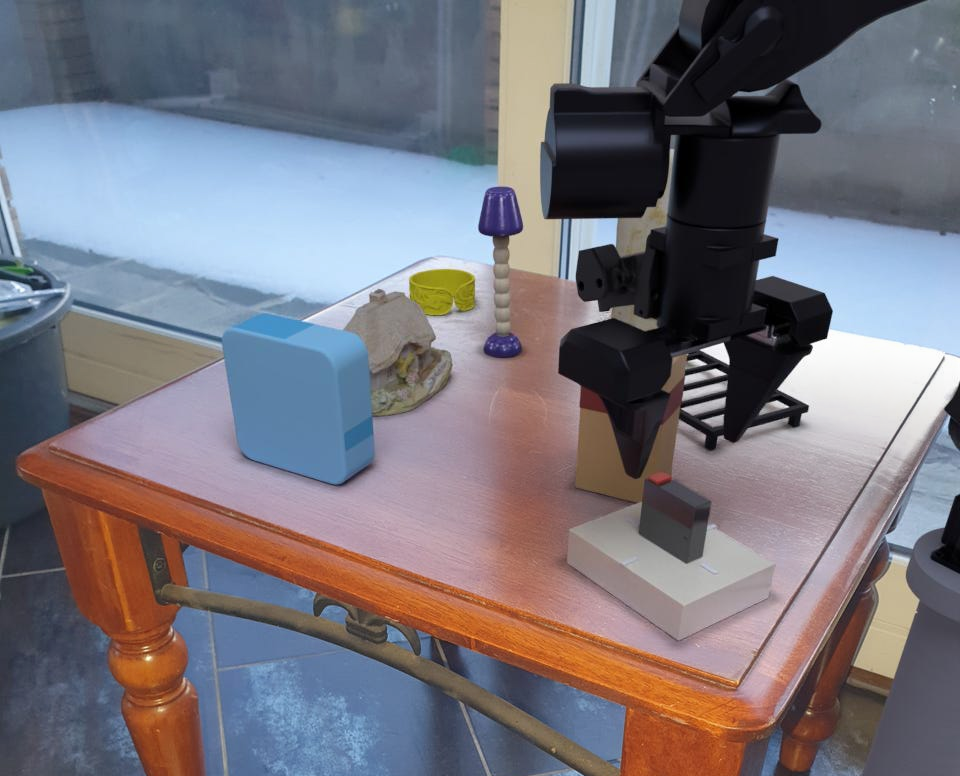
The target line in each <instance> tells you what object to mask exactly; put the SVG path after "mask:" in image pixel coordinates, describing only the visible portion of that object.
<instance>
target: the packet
mask: <svg viewBox="0 0 960 776" xmlns="http://www.w3.org/2000/svg"><path fill="white" fill-rule="evenodd" d="M687 355H688V354H684V355H681V356H678V357H674V358H672V359H673V361H672V369H671V377H670V378H669V379H668V381H667V382H666V384H665V385H664V386H663V388H662V390H664V391H666V392H668V393H670V394H671V395H670V399H669V402H668V404H667V407H666V410H665V413H664V416H663V419H662V422H661V424H660V427H659V430H658V433H657V436H656V439H655V442H654V445H653V448H652V451H651V454H650V456H649V459H648V462H647V464H646V466H645V469H644V471H643V473H642V475H641V477H640V478H638V479H633V478H632V477H630V476H628V475H627V474H626V473H625V470H624V466H623V463H622V459H621V456H620V453H619V449H618V446H617V442H616V439H615V435H614V432H613V429H612V425H611V422H610V419H609V416H608V414H607V412H606V409H605V407H604V405H603V402H602V401H601V399H600V397H599V396H598V395H597V394H596V393H594V392H592V391H590V390H588V389H586V388H584V387H582V386H580V391H579V393H580V395H579V420H578V421H579V422H578V434H577V435H578V436H577V451H576V463H575V464H576V465H575V478H574V480H575V481H574V488H575V489H580V490H583V491H584V490H585V491H587V492H592V493H595V494H599V495H604V496H608V497H611V498H616V499H619V500H624V501H628V502H632V503H635V504H636V503H639V502H642V498H643V490H644V481H645V479H646V478H648V477H649V476H651V475H654V474H656V473H659V472H664V473H665V474H667V475H669V476H671V477H672V474H673V473H672V471H673V464H674V458H675V457H674V456H675V449H676V443H677V435H678V427H679V413H680V405H681V404H682V401H683V396H684V392H683V389H684V385H685V382H686V381H685V380H686V376H684V375H685V370H686V367H687V362H686V360H687Z"/></svg>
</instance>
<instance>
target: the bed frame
mask: <svg viewBox="0 0 960 776" xmlns="http://www.w3.org/2000/svg"><path fill="white" fill-rule="evenodd" d="M694 360H698V361H700V362H702V363H704V364H703V365H698V366H694V367H690V368H687V369H686V368H685V375H684V376H685V377H687V376H693V375H696V374H700V373H704V372H708V371H712V370H717V371H719V372H721V373H723V375H719V376H714V377H711V378H706V379H703V380H698V381H693V382H690V383H684V389H683V393H684V392H689V391H692V390H696V389H701V388H704V387H708V386H713V385H717V384H721V383H725V382H727V381H728V372H729V364H728V363H726V362H724V361H723V360H720V359H718V358H716V357H714V356H712V355H711V354H709V353H706V352H704V351H702V349H701V350H698V351H694V352H691V353H688V354H687V360H686V363H687V362H692V361H694ZM726 391H727V389H725V390H722V391H717V392H713V393H710V394H706V395H701V396H698V397H694V398H690V399H685V400H682V404H681V405H680V413H679V420H680V421H681V422H683V423H684V424H686V425H688V426H689V427H691V428H693V429H694V430H696V431H698V432H700V433H701V434H703V435H705V439H704V446H703V447H704V449H706V450H707V451H709V452H710V451H713V450H717V446H718V438H719V437H724V436H723V427H724V424H720V425H717V426H711V425H710V424H708V423H706V422H705V421H704V420H708V419H712V418H716V417H720V416H724V409H725V406H724V407H720V408H716V409H713V410H708V411H705V412H701V413H697V414H691V413H690V412H688V411H686V410H684V409H685V408H688V407H692V406H696V405H701V404H705V403H708V402H713V401H716V400H721V399H725V398H726ZM776 401H777V402H779V403H781V404H782V405H784V406H786V407H784V408H781V409H777V410H773V411H769V412H766V413H762V414H758V415H757V417H756V418H755V420H754V421H753V422H752V424H751V425H750V426H749V428H748V429H751V428H755V427H759V426H764V425H767V424H770V423H773V422H778V421H781V420H785V419H788V421H787V425H788V426H790V427H791V428H796V427H800V424H801V419H802V415H804V414H806V413H808V412H809V409H810V405H809V404H807V403H805V402H803V401H801V400H799V399H797V398H795V397H793V396H791V395H789V394H787V393H785V392H783V391H782V390H779V389H777V390H776V392H775V393H774V394H773V395H772V397H771V398H770V399H769V401H768V402H767V403H766V404H770V403H772V402H773V403H774V402H776ZM679 420H678V421H679Z"/></svg>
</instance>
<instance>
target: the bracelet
mask: <svg viewBox="0 0 960 776" xmlns="http://www.w3.org/2000/svg"><path fill="white" fill-rule="evenodd" d="M408 284H409V286H408V290H409V299H410V300H412V301H415V302H417V303H418V304H419V305H420V307H421V308H422V309H423V311H424V313H425V315H426V316H428V315H429V316H443V315H444V316H445V315H446V314H448V313H449V312H450V311H451V309H452V308H453V306H454V305H455V307H456V308H457V309H458V310H460V311H463V312H466V311H469V310H472V309H473V308H475V305H476V302H475V298H476V276H475V275H474V274H472V273H471V272H469V271H466V270H462V269H457V268H456V269H455V268H437V269H429V270H423V271H419V272H416V273H414V274H412V275H411V276H410V277H409V278H408Z"/></svg>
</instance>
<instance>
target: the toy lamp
mask: <svg viewBox="0 0 960 776" xmlns="http://www.w3.org/2000/svg"><path fill="white" fill-rule="evenodd" d="M477 229H478V233H479V234H480V235H483V236H485V237H492V245H493V247H494V248H493V250H492V258H493V261H494V264H493V268H492V271H493V272H492V273H493V275H494V278H493V289H494V295H493V302H494V305H495V308H494V318H495V323H494V324H495V325H494V330H495V332H494V333H492V334H490V335H488V337H487V338H486V340H485V342H484V345H483V352H484V353H485V354H486V355H488V356H490V357H495V358H512V357H516V356H517V355H519V354H521V352H522V351H523V347H522V342H521V340H520V339H519V337H518V336H516V334H514V333H512V332H511V329H512V324H511V322H510V319H511V315H512V314H511V308H510V304H511V295H510V288H511V281H510V278H509V276H510V273H511V272H510V270H511V269H510V263H509V260H510V249H509V245H510V237H512V236H516V235H518V234H520V233H522V232H523V230H524V222H523V218H522V214H521V210H520V205H519V202H518V198H517V195H516V192H515V189H514V188H513V187H510V186H493V187H489V188H488V189H486V190H485V193H484V196H483V200H482V205H481V211H480V215H479V219H478V225H477Z"/></svg>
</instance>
